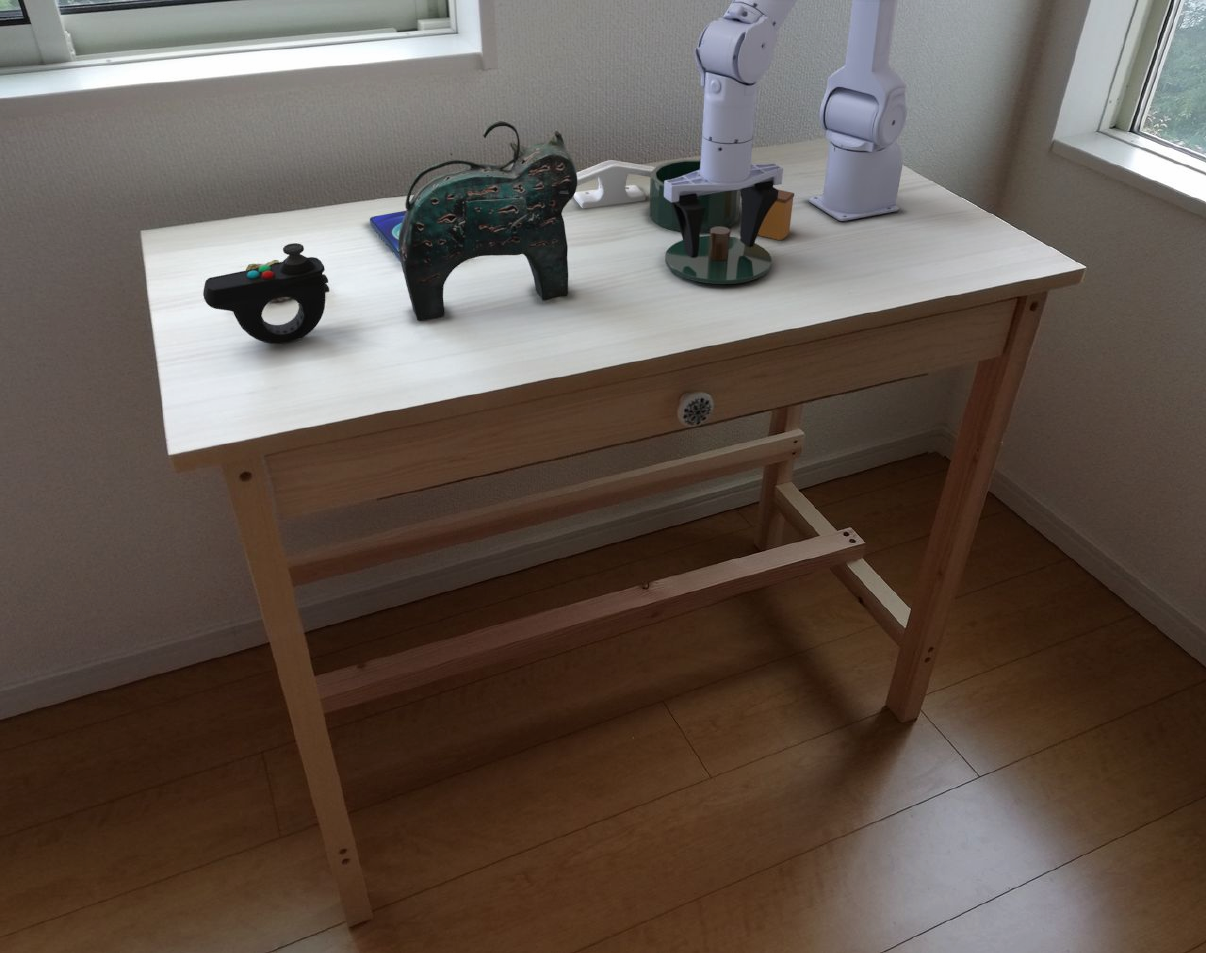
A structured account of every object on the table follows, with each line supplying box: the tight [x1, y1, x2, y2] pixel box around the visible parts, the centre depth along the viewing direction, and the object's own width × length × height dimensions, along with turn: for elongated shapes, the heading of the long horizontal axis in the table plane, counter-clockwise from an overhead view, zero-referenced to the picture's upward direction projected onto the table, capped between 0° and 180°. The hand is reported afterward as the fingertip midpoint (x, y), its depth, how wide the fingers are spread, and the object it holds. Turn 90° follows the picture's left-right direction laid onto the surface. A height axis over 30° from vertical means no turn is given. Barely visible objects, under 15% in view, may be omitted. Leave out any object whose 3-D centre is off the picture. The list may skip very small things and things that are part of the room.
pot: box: [649, 159, 741, 234], centre depth 132 cm, size 12×12×6 cm
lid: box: [664, 227, 773, 285], centre depth 120 cm, size 13×13×4 cm
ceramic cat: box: [398, 120, 578, 321], centre depth 107 cm, size 20×6×20 cm, turn 110°
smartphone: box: [369, 210, 406, 263], centre depth 127 cm, size 8×1×15 cm
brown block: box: [757, 188, 795, 241], centre depth 127 cm, size 5×3×6 cm, turn 57°
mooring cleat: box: [573, 159, 657, 209], centre depth 137 cm, size 4×20×5 cm, turn 109°
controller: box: [202, 242, 330, 345], centre depth 103 cm, size 4×12×10 cm, turn 117°
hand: (719, 249), depth 120 cm, fingers open, 7 cm apart
